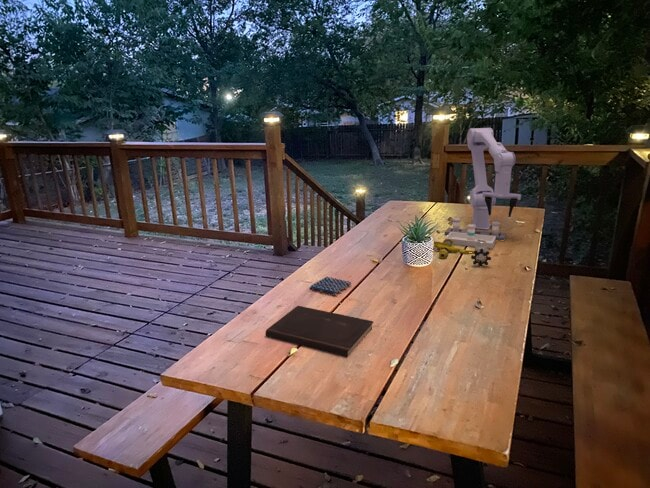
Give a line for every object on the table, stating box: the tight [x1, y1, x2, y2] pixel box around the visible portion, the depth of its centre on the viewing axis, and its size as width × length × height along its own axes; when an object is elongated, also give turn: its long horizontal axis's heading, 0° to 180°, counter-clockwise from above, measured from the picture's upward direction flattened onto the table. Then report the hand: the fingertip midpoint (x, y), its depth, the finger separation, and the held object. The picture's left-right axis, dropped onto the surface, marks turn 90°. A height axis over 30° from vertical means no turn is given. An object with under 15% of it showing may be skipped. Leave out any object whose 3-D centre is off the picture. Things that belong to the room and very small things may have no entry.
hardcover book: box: [265, 305, 375, 358], centre depth 116 cm, size 16×23×2 cm
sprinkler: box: [433, 239, 475, 260], centre depth 172 cm, size 19×4×15 cm
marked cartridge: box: [467, 223, 476, 241], centre depth 182 cm, size 3×3×7 cm
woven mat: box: [309, 276, 352, 297], centre depth 144 cm, size 10×11×2 cm
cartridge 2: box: [491, 220, 501, 236], centre depth 188 cm, size 3×3×7 cm
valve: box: [470, 239, 492, 267], centre depth 162 cm, size 7×7×12 cm
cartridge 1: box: [452, 217, 461, 232], centre depth 195 cm, size 3×3×7 cm
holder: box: [444, 227, 507, 241], centre depth 192 cm, size 7×24×2 cm, turn 63°
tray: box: [444, 232, 497, 250], centre depth 183 cm, size 10×18×2 cm, turn 63°
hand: (499, 215), depth 187 cm, fingers open, 7 cm apart
